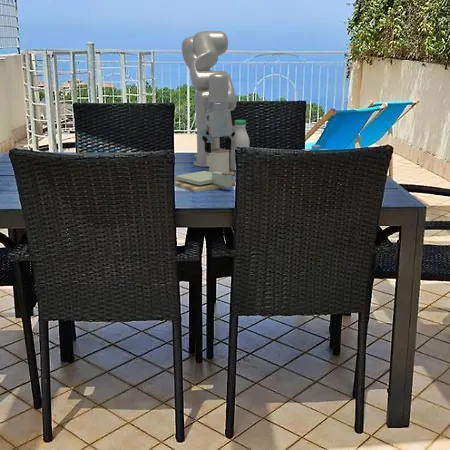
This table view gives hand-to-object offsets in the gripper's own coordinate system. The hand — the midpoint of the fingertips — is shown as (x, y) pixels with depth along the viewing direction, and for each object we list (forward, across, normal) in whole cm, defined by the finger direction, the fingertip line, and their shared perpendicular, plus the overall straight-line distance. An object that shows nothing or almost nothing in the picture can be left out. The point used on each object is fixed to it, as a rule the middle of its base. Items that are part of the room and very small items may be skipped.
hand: (218, 150), depth 240 cm
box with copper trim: (+8, -1, 0) cm, 8 cm away
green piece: (+6, -16, -17) cm, 25 cm away
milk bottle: (+10, +11, 0) cm, 15 cm away
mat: (+9, -1, -2) cm, 9 cm away
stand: (+8, -17, -14) cm, 23 cm away
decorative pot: (+8, +19, -34) cm, 40 cm away
